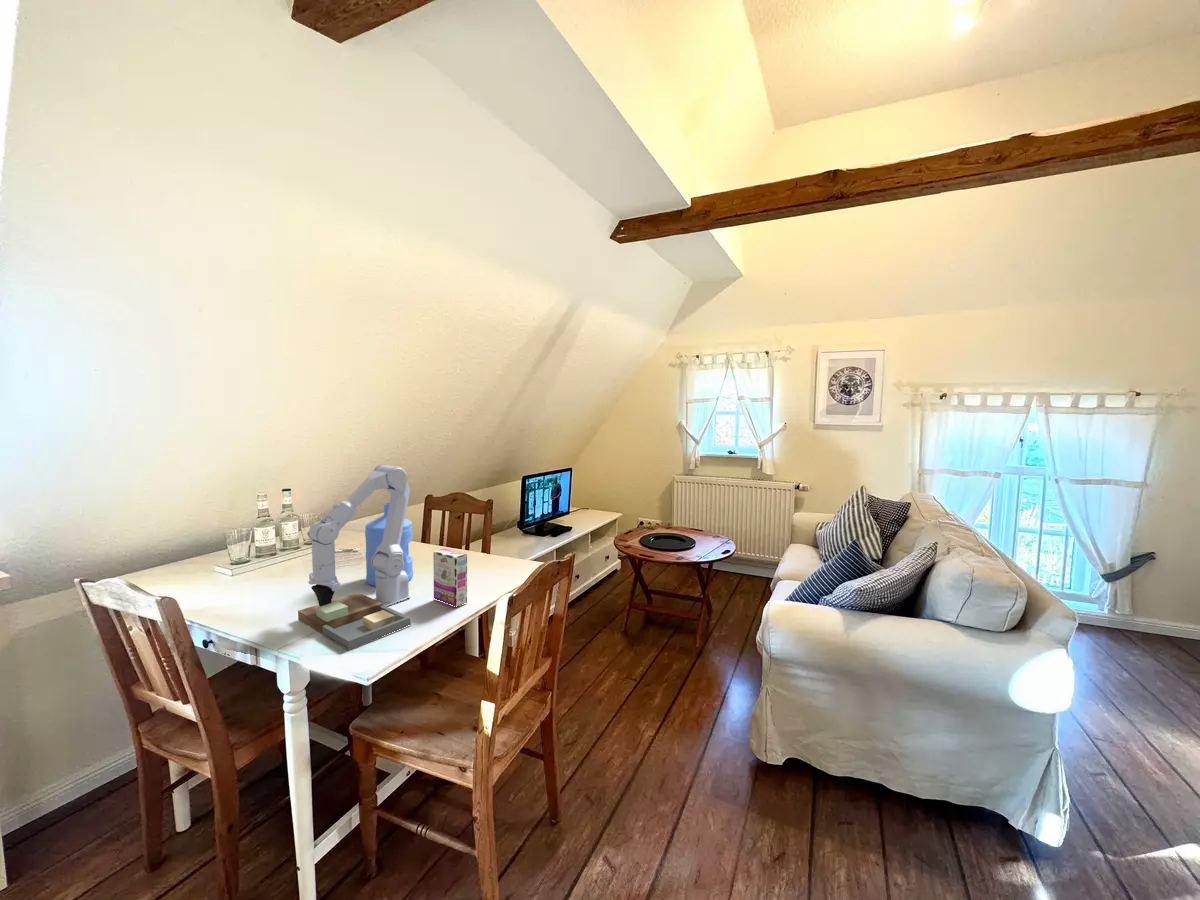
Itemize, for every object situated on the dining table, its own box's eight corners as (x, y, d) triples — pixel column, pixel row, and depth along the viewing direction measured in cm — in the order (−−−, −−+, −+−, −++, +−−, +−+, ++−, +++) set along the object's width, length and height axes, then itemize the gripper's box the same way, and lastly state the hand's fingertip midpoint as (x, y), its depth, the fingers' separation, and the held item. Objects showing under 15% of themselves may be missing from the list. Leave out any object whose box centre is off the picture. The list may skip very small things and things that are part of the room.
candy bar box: (468, 603, 158) (468, 553, 157) (455, 608, 154) (455, 557, 153) (445, 595, 165) (445, 547, 163) (432, 600, 160) (432, 551, 159)
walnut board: (358, 601, 158) (358, 592, 158) (382, 612, 150) (382, 603, 150) (298, 620, 144) (298, 610, 143) (321, 634, 135) (321, 623, 135)
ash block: (394, 615, 141) (394, 623, 141) (383, 610, 145) (383, 618, 145) (374, 622, 136) (374, 631, 137) (363, 616, 140) (363, 625, 140)
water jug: (380, 591, 167) (379, 510, 164) (357, 580, 176) (355, 503, 174) (421, 579, 179) (420, 503, 177) (398, 569, 189) (397, 497, 186)
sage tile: (337, 609, 145) (337, 601, 145) (348, 614, 141) (348, 606, 141) (316, 616, 140) (316, 607, 140) (326, 621, 136) (326, 613, 136)
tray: (383, 613, 150) (383, 605, 149) (410, 625, 142) (410, 617, 141) (322, 634, 135) (322, 626, 135) (348, 650, 127) (348, 641, 127)
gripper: (297, 561, 143) (299, 606, 144) (321, 572, 134) (322, 620, 135) (322, 555, 148) (324, 599, 150) (347, 565, 140) (348, 611, 141)
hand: (325, 608), depth 143 cm, fingers closed
